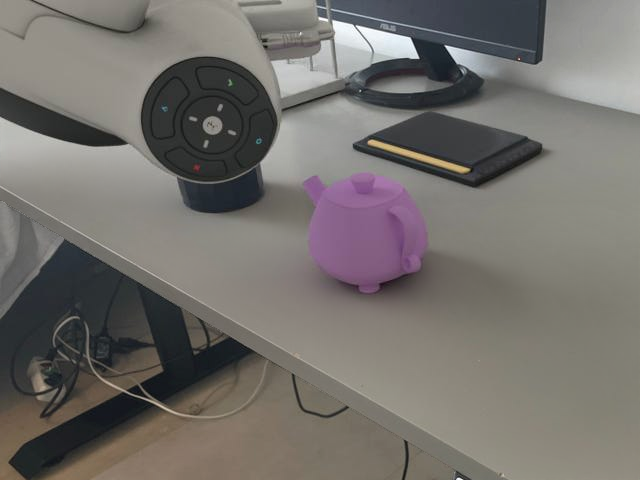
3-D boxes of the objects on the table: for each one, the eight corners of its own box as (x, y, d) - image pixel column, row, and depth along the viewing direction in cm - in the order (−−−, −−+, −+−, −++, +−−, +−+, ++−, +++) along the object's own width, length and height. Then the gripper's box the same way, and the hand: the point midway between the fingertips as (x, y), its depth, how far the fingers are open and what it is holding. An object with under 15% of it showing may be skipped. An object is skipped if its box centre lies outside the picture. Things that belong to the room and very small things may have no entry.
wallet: (547, 136, 90) (471, 173, 80) (546, 150, 91) (471, 189, 82) (429, 103, 100) (348, 133, 90) (429, 117, 101) (350, 148, 91)
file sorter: (155, 85, 112) (125, -27, 103) (247, 61, 123) (228, -42, 113) (253, 120, 100) (230, -4, 90) (346, 90, 110) (334, -23, 101)
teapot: (377, 319, 61) (367, 219, 55) (272, 259, 69) (254, 167, 63) (460, 273, 67) (459, 178, 61) (356, 223, 75) (346, 135, 69)
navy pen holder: (185, 217, 76) (157, 113, 69) (181, 185, 82) (155, 87, 76) (269, 205, 78) (250, 103, 72) (259, 174, 85) (240, 79, 78)
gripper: (335, -10, 51) (301, -41, 61) (13, 10, 45) (34, -28, 55) (344, 81, 55) (311, 37, 65) (48, 111, 49) (62, 57, 59)
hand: (182, 7), depth 60 cm, fingers open, 8 cm apart
